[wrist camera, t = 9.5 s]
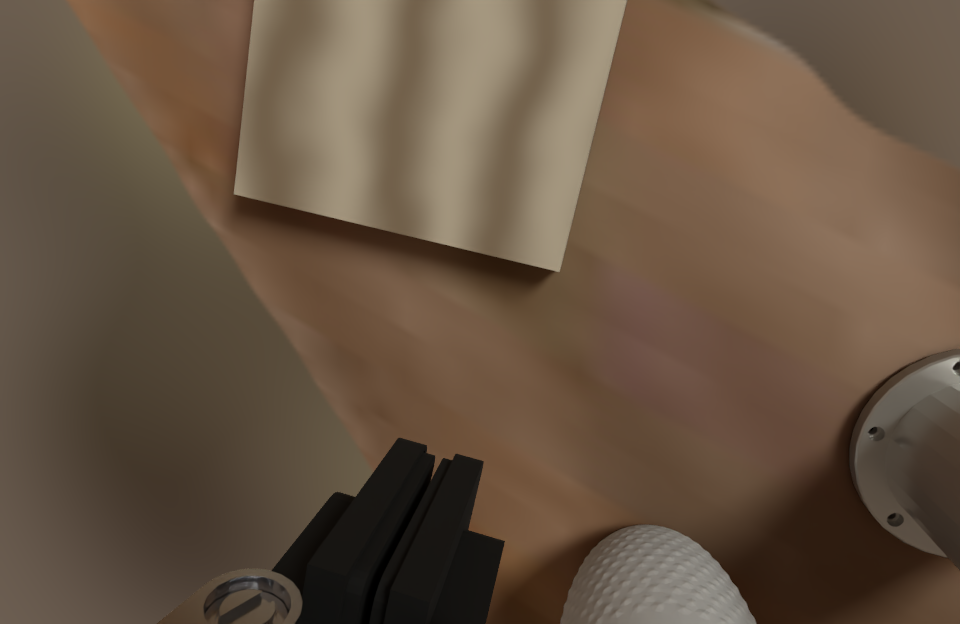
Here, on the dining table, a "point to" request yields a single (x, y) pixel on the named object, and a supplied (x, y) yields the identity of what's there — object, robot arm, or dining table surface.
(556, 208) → the runway board
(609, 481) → the dining table surface
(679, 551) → the mug
